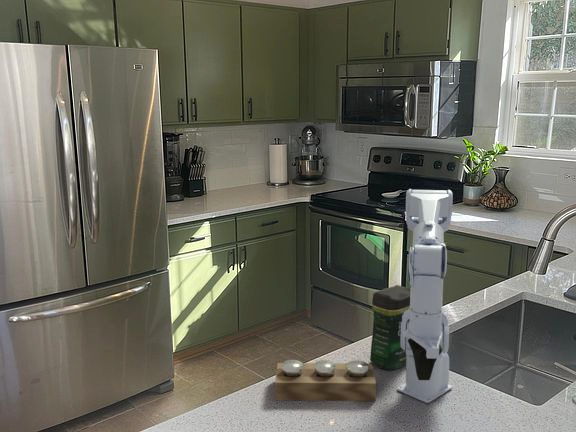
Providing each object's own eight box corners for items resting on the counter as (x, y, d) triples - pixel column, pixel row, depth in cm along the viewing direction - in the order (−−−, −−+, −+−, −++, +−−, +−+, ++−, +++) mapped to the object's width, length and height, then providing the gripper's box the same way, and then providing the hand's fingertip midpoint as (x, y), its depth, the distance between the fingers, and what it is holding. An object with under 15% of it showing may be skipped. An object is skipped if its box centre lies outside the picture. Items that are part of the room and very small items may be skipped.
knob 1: (303, 383, 124) (302, 359, 123) (302, 393, 120) (302, 369, 119) (283, 383, 124) (282, 359, 123) (282, 393, 120) (281, 369, 119)
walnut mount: (371, 380, 126) (371, 363, 125) (375, 401, 117) (376, 383, 116) (278, 379, 127) (277, 363, 126) (275, 400, 118) (274, 382, 117)
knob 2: (366, 384, 123) (366, 360, 122) (368, 394, 119) (368, 369, 118) (346, 383, 124) (346, 360, 123) (347, 394, 119) (347, 369, 118)
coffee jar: (391, 374, 128) (393, 297, 125) (364, 363, 134) (365, 289, 130) (416, 361, 134) (419, 287, 131) (390, 351, 140) (392, 280, 137)
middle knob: (334, 383, 124) (334, 360, 123) (335, 393, 119) (335, 369, 118) (314, 383, 124) (314, 360, 123) (314, 393, 120) (314, 369, 119)
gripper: (397, 296, 110) (396, 361, 112) (410, 323, 95) (408, 397, 98) (434, 296, 109) (431, 361, 112) (452, 323, 95) (449, 398, 97)
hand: (423, 378), depth 105 cm, fingers closed
